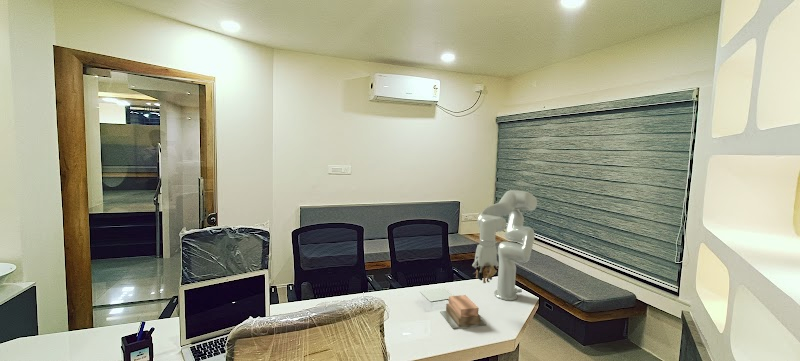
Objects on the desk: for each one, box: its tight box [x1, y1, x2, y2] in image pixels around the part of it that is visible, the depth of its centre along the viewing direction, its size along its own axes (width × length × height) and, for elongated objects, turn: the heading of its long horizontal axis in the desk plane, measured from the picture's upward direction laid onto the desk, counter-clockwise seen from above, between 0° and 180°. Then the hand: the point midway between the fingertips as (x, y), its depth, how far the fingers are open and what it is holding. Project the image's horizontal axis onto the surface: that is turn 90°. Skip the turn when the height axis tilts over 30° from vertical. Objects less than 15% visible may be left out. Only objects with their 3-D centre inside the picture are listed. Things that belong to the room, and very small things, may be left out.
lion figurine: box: [472, 265, 498, 284], centre depth 162 cm, size 15×5×9 cm, turn 29°
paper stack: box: [419, 287, 455, 302], centre depth 180 cm, size 23×25×1 cm
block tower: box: [439, 294, 487, 330], centre depth 159 cm, size 17×16×9 cm
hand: (484, 278), depth 161 cm, fingers closed on lion figurine, 4 cm apart
